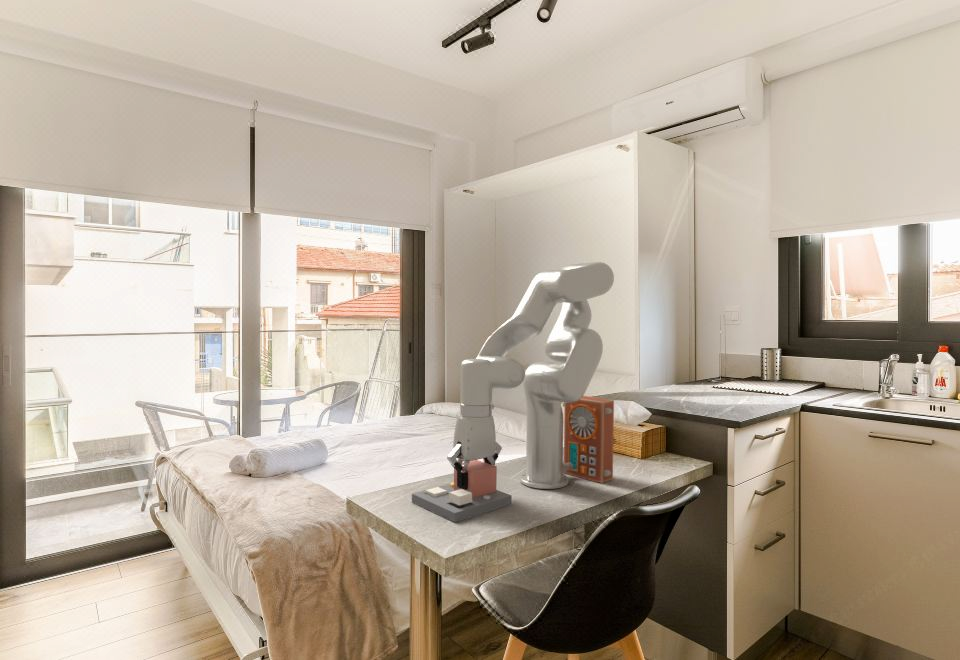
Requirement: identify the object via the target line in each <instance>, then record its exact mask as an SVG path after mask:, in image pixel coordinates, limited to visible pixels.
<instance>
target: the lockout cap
mask: <svg viewBox="0 0 960 660" xmlns="http://www.w3.org/2000/svg"><path fill="white" fill-rule="evenodd" d="M463 463H464V462H462V465H463ZM497 470H498V469H497V465H491V464H488V463H485V462H484V461H483V460H482V461H481V460H479V459H478V460H474V461H470V462H469V465H468V467H467V470H466V472H467V473H468V488H467V490H466V491H468V492H471V493H472V498H475V497H479V496H482V495H485V494H489V493H492V492H496V490H497V479H498V478H497ZM453 483H454V490H455V491H456V490H460V489H461V488H459V487H457V471H456V470H455V468H454V467H453ZM463 490H464V489H463Z"/></svg>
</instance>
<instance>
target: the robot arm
mask: <svg viewBox="0 0 960 660" xmlns="http://www.w3.org/2000/svg"><path fill="white" fill-rule="evenodd" d="M614 279H615V275H614V272H613V269H612V268H611V267H610V266H609V265H608V264H606V263H605V262H601V261H598V262H597V261H595V262H594V261H593V262H585V263H584V262H583V263H582V262H581V263H572V264H567V265H565V266H563V267H561V268H560V269H553V270H549V269H548V270H544V271H543V270H542V271H540V272H539V273H536V275H534V277H533V279H532V280H531V282H530V284H529V285H528V287H527V289H526V291H525V293H524V295H522V298H521V300H520V302H519V303H518V306H517V307H516V309H515V312H514V313H513V315H512V316H511V317H510V318H509V319H508V320H506V321H505V322H504V323H503V324H501V326H499V327H498V328H497V329H496V330H495V331H494V332H493V333H492V334H491V335H490V336H489V337H488V338H487V340H485V342H484V344H483V346H482V347H481V349H480V351H479V353H478V355H477V356H476V358H467V359H464V360H462V362H461V364H460V398H459V399H460V400H459V401H460V407H459V408H460V411H459V416H458V417H457V418H456V423H455V428H454V434H453V446H452V451H451V452H450V453H449V454H448V455H447V457H446V459H447V460H448V462H449V463H450V465H451V467H452V468H453V469H454V468H455V470H456V471H457V487H459V488H461V489H464V490H467V488H468V473H467V472H466V470H467V467H468V465H469V462H470V461H474V460H478V461H479V460H482V462H485V463H488V464H491V465H494V466H496V461H497V460H498V458H499V455H500V453H501V451H502V450H503V447H502V446H501V445H500V444H499V443H498V442H497V439H496V437H497V435H496V427H495V426H496V425H495V420H494V419H495V418H494V415H493V414H492V413H493V412H492V411H493V410H494V408H495V406H494V404H493V389H502V390H503V389H504V390H510V389H516V388H518V387H519V386H520V385H521V384H522V383H523V390H524V395H525V401H526V450H525V451H526V453H525V454H526V457H525V458H526V459H525V460H526V461H525V462H526V463H525V464H526V465H525V469H526V471H525V472H524V473H522V474H521V475H520V480H519V481H520V483H521V484H523V485H524V486H526V487H529V488H533V489H541V490H552V489H560V488H564V487H566V486H568V484H569V477H568V476H567V474H565V472H566V470H570V469H573V464H572V463H571V462H568V463H563V461H564V412H563V411H564V410H563V408H562V407H563V406H562V405H561V403H564V402H565V403H574V402H577V401H578V400H580V399H581V398H582V396H585V394H586V391H587V390H588V388H589V386H590V383H591V382H592V379H593V376H594V375H595V372H596V370H597V368H598V366H599V364H600V361H601V358H602V355H603V347H604V345H603V339H602V337H601V336H600V334H599V333H598V332H597V331H596V330H595V329H592V328H589V326H590V324H591V321H592V309H591V306H590V304H589V302H588V300H590V299H592V298H596V297H600V296H602V295H605V294H606V293H608V292H609V291H610V290H611V289H612V286H613V285H614ZM558 304H561V309H560V312H559V314H558V316H557V320H556V321H555V323H554V325H553V327H552V329H551V331H550V333H549V335H548V336H547V337H548V338H547V340H546V342H545V345H544V352H545V355H546V356H547V358H549V359H550V360H552V361H537V362H533V363H532V364H530V365H529V366H528V367H527V368H525V367H524V365H523V363H521V362H520V361H519V360H517V359H515V358H512V357H506V356H507V355H508V354H509V353H510V352H511V351H512V350H513V349H514V348H515V347H517V346H518V345H520V344H523V343H525V342H526V341H529V340H532V339H533V338H535V337H538V336H539V335H540V334H542V333H543V331H544V329H545V327H546V325H547V323H548V321H549V320H550V318H551V315H552V314H553V312H554V310H555V308H556V306H557V305H558ZM553 361H554V362H553ZM462 463H463V465H462Z"/></svg>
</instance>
